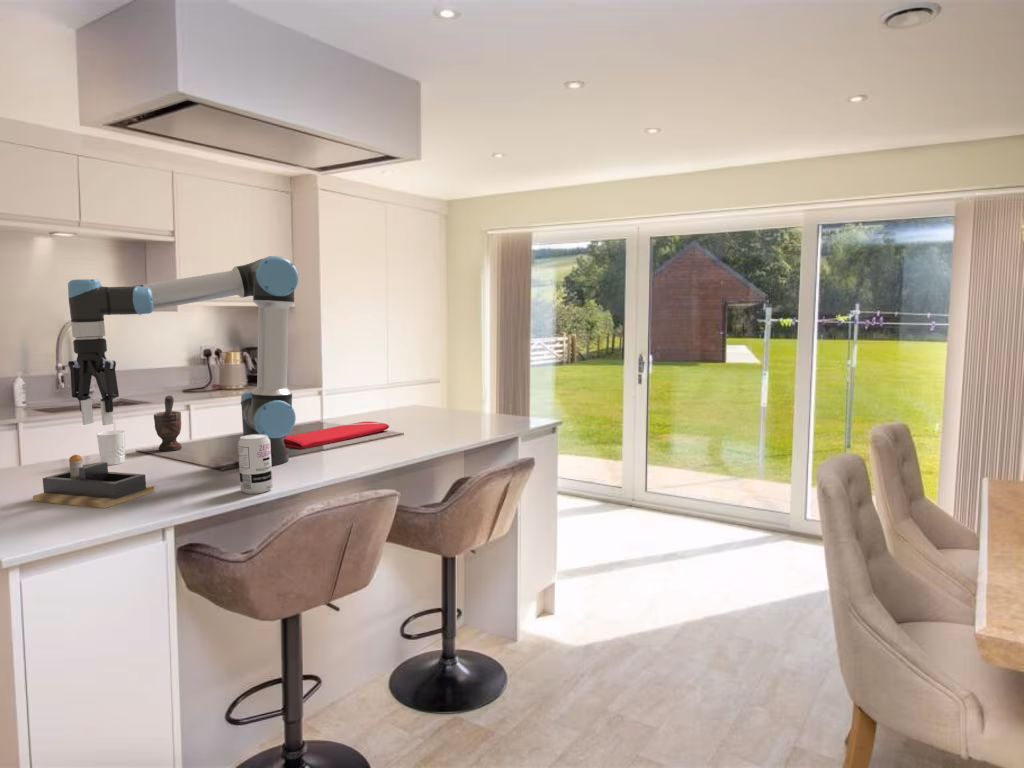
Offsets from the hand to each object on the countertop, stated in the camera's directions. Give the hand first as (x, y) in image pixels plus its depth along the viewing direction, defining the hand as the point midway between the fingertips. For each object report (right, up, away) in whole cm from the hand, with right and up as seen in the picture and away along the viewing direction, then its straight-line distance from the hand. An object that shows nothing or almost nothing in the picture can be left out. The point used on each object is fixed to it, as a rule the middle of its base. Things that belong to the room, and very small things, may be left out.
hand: (98, 423), depth 187 cm
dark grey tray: (0, -18, -1) cm, 18 cm away
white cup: (-18, -15, +39) cm, 46 cm away
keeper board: (0, -19, -1) cm, 19 cm away
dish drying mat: (+44, -10, +77) cm, 90 cm away
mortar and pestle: (-8, -13, +58) cm, 60 cm away
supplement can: (+42, -19, +3) cm, 46 cm away
